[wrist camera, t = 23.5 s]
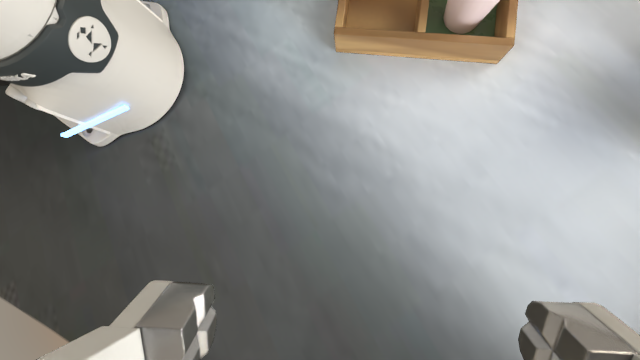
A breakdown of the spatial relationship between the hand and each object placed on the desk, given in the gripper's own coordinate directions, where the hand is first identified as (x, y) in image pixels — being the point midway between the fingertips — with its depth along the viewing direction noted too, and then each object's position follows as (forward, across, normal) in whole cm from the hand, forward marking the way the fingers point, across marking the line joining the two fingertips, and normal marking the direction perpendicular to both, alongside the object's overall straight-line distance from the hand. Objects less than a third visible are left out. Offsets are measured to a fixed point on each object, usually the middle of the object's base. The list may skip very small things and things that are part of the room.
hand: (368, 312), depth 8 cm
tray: (+31, -8, -13) cm, 35 cm away
